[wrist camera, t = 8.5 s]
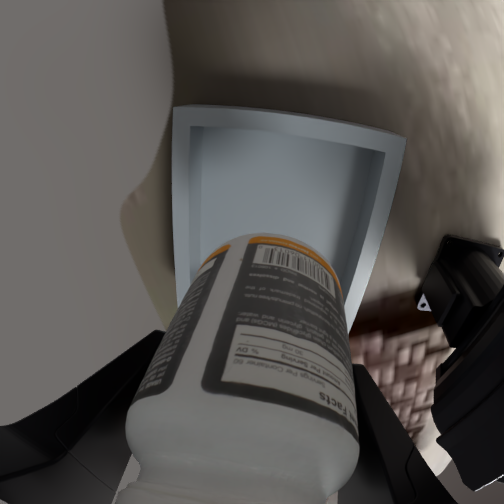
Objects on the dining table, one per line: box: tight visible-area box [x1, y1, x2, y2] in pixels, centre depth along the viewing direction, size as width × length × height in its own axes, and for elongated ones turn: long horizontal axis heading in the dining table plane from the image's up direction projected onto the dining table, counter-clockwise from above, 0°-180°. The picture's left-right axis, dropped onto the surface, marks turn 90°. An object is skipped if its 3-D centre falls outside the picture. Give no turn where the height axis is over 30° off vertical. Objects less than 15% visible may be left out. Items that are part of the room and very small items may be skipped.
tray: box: [172, 104, 407, 334], centre depth 18 cm, size 12×14×3 cm
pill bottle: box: [115, 232, 360, 504], centre depth 8 cm, size 6×6×10 cm
